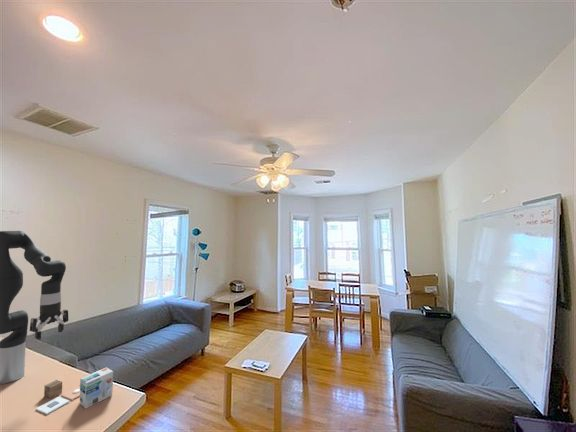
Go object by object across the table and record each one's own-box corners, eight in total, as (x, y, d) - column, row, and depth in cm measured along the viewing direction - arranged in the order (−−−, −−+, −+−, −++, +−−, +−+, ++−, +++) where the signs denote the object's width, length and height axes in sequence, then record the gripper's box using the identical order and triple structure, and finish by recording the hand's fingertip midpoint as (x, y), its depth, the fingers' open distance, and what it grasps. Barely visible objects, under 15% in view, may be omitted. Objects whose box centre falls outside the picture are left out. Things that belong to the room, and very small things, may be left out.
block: (44, 396, 115) (44, 385, 115) (56, 390, 119) (56, 379, 119) (50, 399, 113) (50, 387, 114) (62, 392, 118) (62, 381, 118)
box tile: (35, 409, 107) (35, 407, 107) (58, 397, 114) (58, 395, 114) (47, 414, 104) (47, 412, 104) (69, 402, 111) (69, 400, 111)
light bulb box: (85, 409, 107) (85, 383, 107) (78, 403, 110) (79, 378, 111) (113, 394, 116) (113, 370, 116) (106, 389, 120) (107, 366, 120)
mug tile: (61, 396, 115) (61, 394, 115) (80, 385, 122) (80, 384, 123) (72, 400, 112) (72, 398, 112) (91, 389, 120) (91, 387, 120)
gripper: (63, 297, 132) (62, 328, 131) (27, 305, 119) (26, 340, 118) (72, 298, 129) (71, 330, 129) (36, 307, 116) (35, 343, 115)
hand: (49, 335), depth 123 cm, fingers open, 8 cm apart
